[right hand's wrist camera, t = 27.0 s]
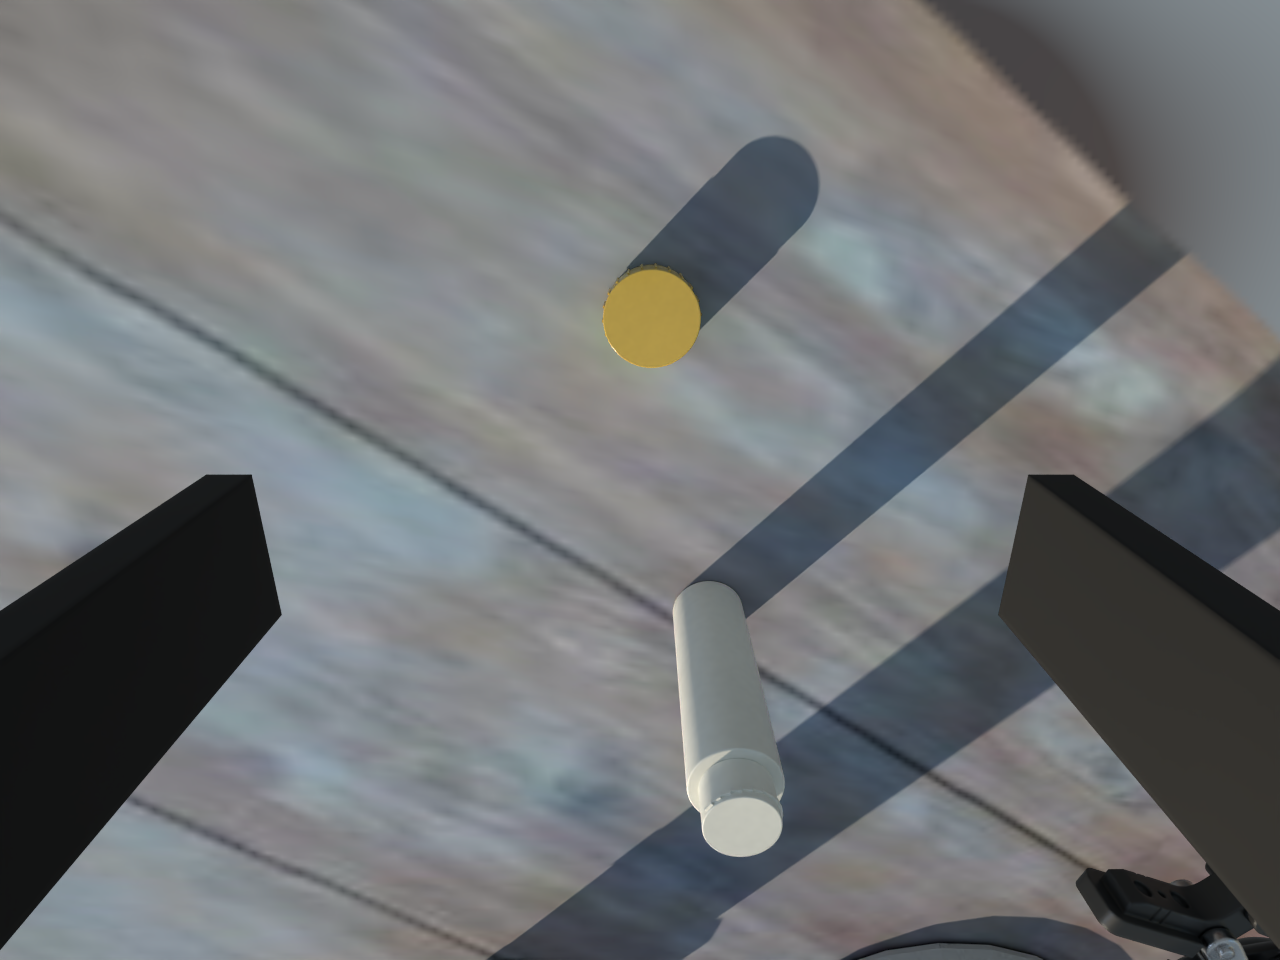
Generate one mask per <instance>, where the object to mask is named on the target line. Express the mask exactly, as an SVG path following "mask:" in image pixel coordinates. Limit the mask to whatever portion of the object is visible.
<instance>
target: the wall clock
mask: <svg viewBox="0 0 1280 960" xmlns="http://www.w3.org/2000/svg"><path fill="white" fill-rule="evenodd" d="M859 960H1043V959H1041V958H1039V957H1037V956H1034V955H1030V954H1026V953H1021V952H1017V951H1013V950H1009V949H1005V948H1000V947H996V946H992V945H977V944H950V943H936V944H929V945H922V946H914V947H907V948H900V949H893V950H886V951H883V952H880V953H877V954H874V955H871V956H868V957H865V958H862V959H859Z"/></svg>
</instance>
